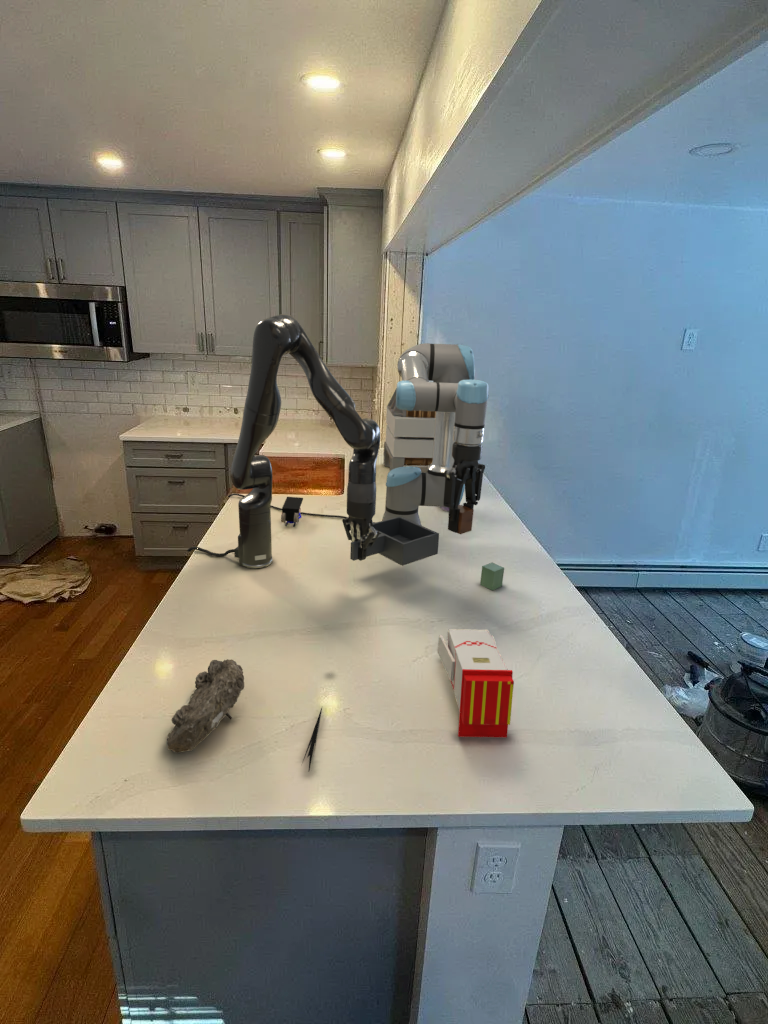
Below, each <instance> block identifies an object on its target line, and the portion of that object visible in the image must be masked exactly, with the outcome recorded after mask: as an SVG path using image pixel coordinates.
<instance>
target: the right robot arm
mask: <svg viewBox="0 0 768 1024" xmlns="http://www.w3.org/2000/svg"><path fill="white" fill-rule="evenodd" d="M475 365H476V364H475V355H474V351H473V349H472V347H470V346H469V345H467V344H466V345H465V344H458V343H457V344H456V343H455V344H453V343H452V344H451V343H450V344H449V343H448V344H447V343H429V342H424V343H419V344H415V345H413V346H411V347H409V348H407V349H406V350H404V351H403V352H402V353H401V355H400V356H399V358H398V360H397V372H398V374H399V377H400V378H401V380H400V381H398V382H397V383H396V388H395V390H396V407H397V408H398V409H400V410H407V411H436V416H435V431H434V445H433V460H432V464H430V465H428V466H427V469H426V472H424V471H423V472H422V469H421V468H420V467H419V466H407V465H404V467H398V468H395V469H392V470H391V471H390V470H389V471H388V473H387V475H386V482H385V486H386V488H385V489H386V490H385V504H384V505H385V507H384V508H385V509H384V513H383V515H382V519H381V521H383V520H387V519H391V518H395V517H399V516H400V517H402V518H405V519H407V520H409V521H412V522H414V523H416V524H419V525H421V526H423V525H422V524H421V518H420V515H419V507H435V508H437V507H438V508H440V507H448V508H449V511H448V520H449V527H448V526H447V530H448V531H450V532H453V533H454V534H458V533H457V532H458V524H459V513H460V509H458V505H459V504H460V505H461V502H462V500H463V497H464V494H465V502H462V506H465V507H468V508H470V509H473V510H474V506H477V505H478V504H479V502H480V501H481V495H482V487H483V486H482V485H483V478H484V472H485V470H486V465H485V464H483V463H480V462H479V461H480V460H481V459H482V456H483V455H482V454H483V445H482V444H483V442H484V434H485V427H486V425H485V424H486V415H487V408H488V399H489V397H490V396H489V384H488V382H486V381H484V380H480V379H475V374H476V366H475ZM232 496H238V497H241V498H243V497H244V496H245V495H244V494H240V493H231V494H229V495H228V496H227V498H231V497H232ZM271 508H272V509H275V510H278V511H282V507H278V506H274V505H271ZM300 515H303V516H304V515H305V516H313V517H324V518H337V519H346V518H349V516H346V515H345V516H344V515H338V514H337V515H335V514H321V513H310V512H302V511H301V514H300ZM373 523H376V522H375V521H373Z"/></svg>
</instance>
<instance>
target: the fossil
mask: <svg viewBox="0 0 768 1024" xmlns="http://www.w3.org/2000/svg"><path fill="white" fill-rule="evenodd" d="M243 670H244V669H243V667H242V665H240V664H237V662H236V661H235V660H234V659H232V658H231V659H227V658H226V659H224V660H223V661H222V660H217V659H212V660H211V661H210V663H209V665H208V666H207V671H201V672H199V673H198V674H197V675H196V676H195V680H194V684H195V685H194V687H195V689H194V690H193V693H192V694H191V697H190V698H189V700H188V704H184V705H182V706H181V707H180V709H177V710H176V711H175V713H174V715H173V716H172V718H171V723H172V724H173V727H172V730H171V731H170V732H168V734H167V738H166V741H167V742H166V745H167V749H168V750H169V751H173V752H174V753H176V754H178V753H182V752H188V751H189V752H192V751H193V750H195V748H196V747H197V746H199V744H200V743H201V742H203V741H204V740H205V739H206V738H207V737H208V736H209V735H210V734H211V733H212V732H214V730H215V729H217V727H218V726H219V724H220V722H221V721H222V720H223V719H224V718H225V716H226V717H227V719H229V720H233V717H232V715H230V714H229V710H230V709H231V708H234V706H235V704H236V703H237V702H238V699H239V697H240V695H241V693H242V691H243V690H245V689H244V688H245V675H244V671H243Z"/></svg>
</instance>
